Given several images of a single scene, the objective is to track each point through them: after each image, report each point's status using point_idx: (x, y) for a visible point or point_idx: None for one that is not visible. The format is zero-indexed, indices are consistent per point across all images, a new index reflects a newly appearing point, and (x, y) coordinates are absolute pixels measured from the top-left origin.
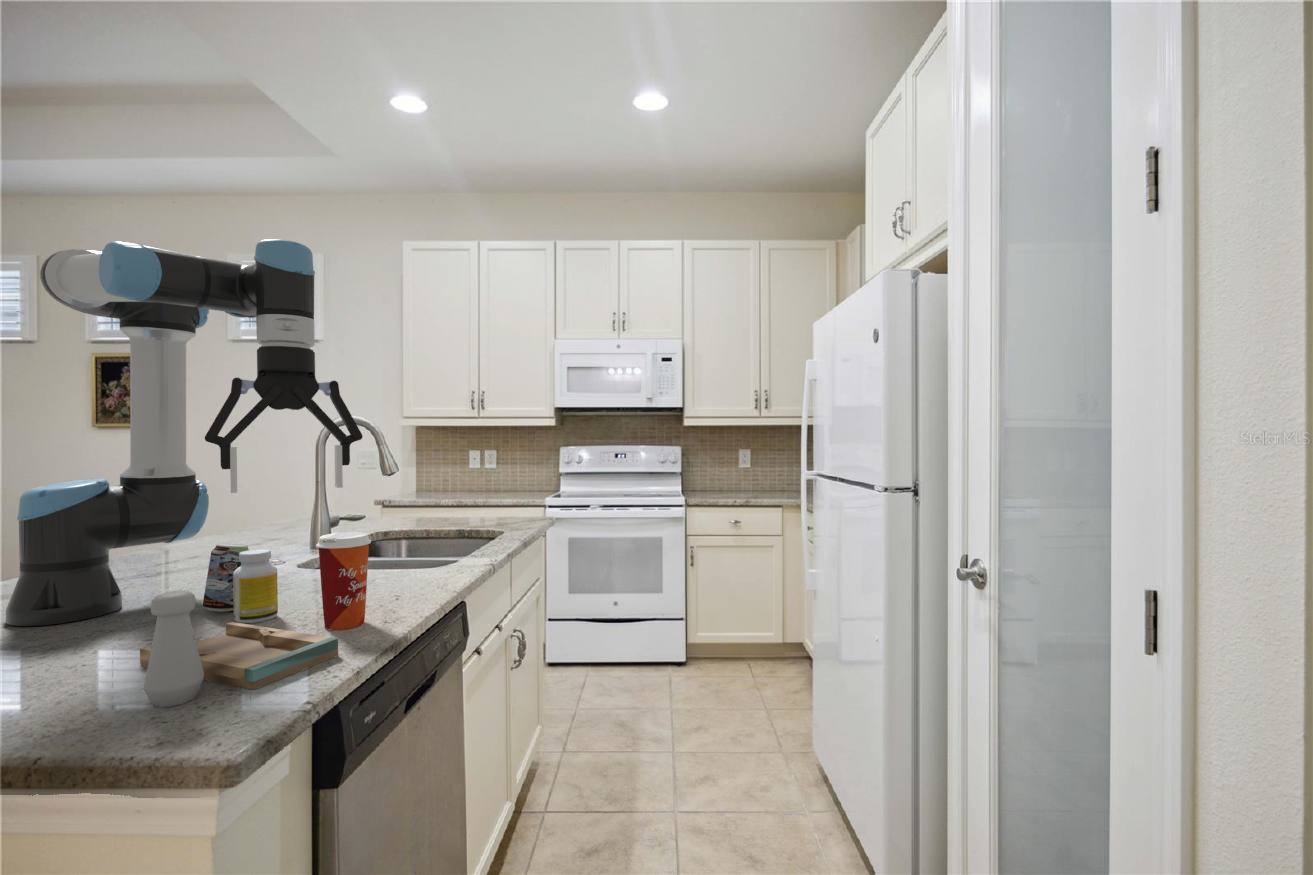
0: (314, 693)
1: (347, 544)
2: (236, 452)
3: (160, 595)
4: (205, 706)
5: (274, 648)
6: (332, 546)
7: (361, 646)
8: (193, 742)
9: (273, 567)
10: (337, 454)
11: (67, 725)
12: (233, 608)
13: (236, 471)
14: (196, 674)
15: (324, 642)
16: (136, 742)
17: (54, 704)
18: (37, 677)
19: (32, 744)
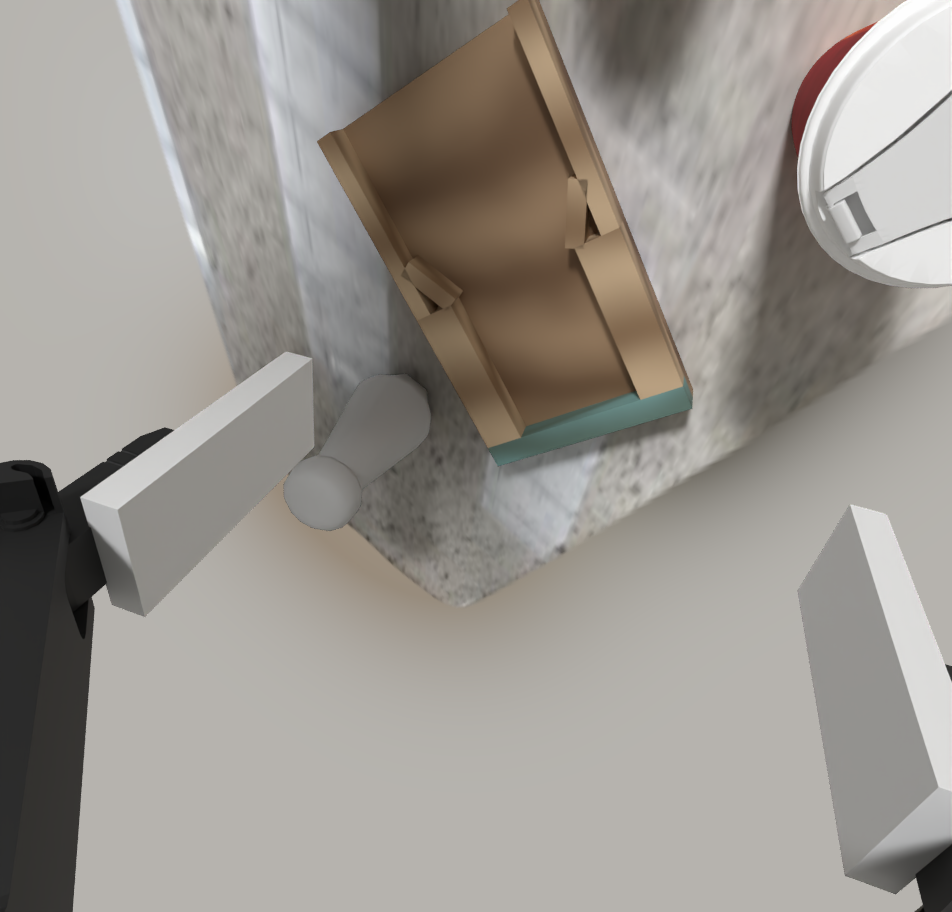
0: (580, 528)
1: (896, 280)
2: (169, 573)
3: (292, 505)
4: (440, 456)
5: (584, 284)
6: (831, 247)
7: (768, 364)
8: (422, 551)
9: None
10: (837, 792)
11: None
12: None
13: (249, 511)
14: (414, 448)
15: (655, 413)
16: (368, 504)
17: (246, 275)
18: (168, 53)
19: None
